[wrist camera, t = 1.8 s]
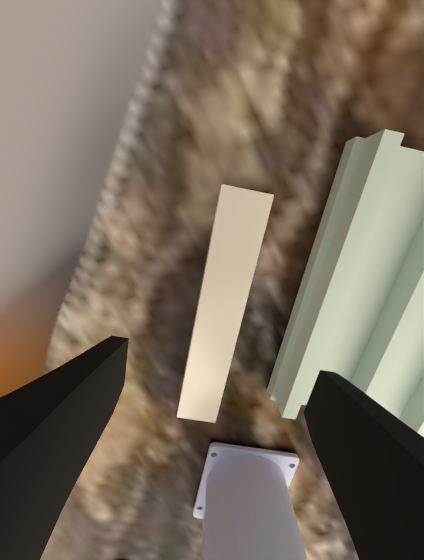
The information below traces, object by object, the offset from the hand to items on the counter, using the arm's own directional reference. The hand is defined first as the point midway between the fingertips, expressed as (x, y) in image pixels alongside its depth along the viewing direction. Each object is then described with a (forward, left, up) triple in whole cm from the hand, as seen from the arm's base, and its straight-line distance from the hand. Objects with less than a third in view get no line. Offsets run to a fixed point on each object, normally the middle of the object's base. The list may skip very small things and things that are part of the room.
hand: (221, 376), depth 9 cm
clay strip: (0, 0, -8) cm, 8 cm away
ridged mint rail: (+2, -14, -8) cm, 16 cm away
